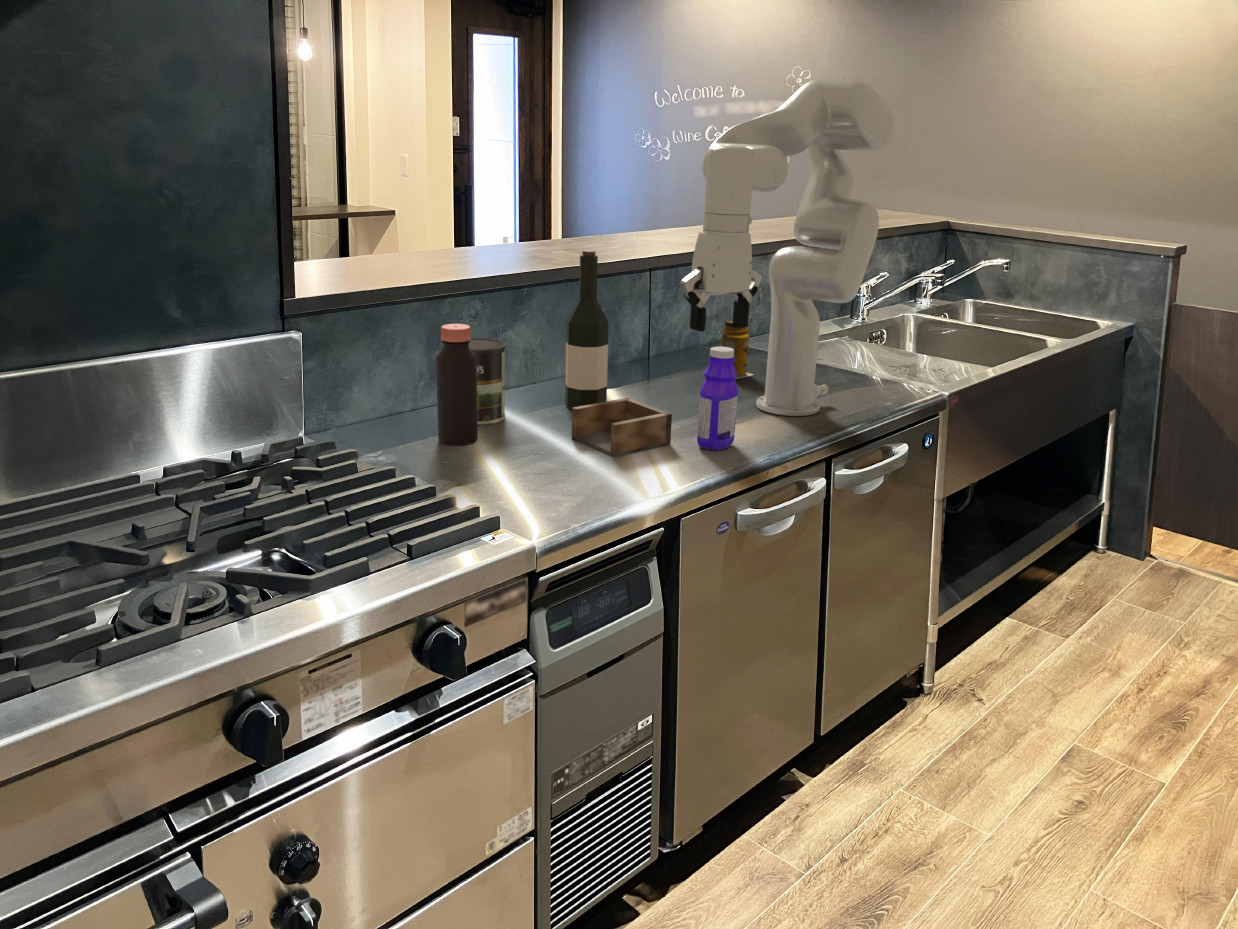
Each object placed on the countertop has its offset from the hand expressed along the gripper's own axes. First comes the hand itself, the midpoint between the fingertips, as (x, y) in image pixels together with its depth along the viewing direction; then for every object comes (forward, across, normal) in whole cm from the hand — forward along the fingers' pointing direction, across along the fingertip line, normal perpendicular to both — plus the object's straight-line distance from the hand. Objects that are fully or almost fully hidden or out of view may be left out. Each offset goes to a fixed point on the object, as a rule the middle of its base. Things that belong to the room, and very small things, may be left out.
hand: (718, 327), depth 176 cm
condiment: (+21, -38, -36) cm, 56 cm away
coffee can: (+21, +26, -36) cm, 49 cm away
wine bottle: (+21, +4, -32) cm, 39 cm away
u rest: (+21, +12, -10) cm, 26 cm away
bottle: (+21, 0, +1) cm, 21 cm away
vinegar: (+22, +36, -25) cm, 49 cm away
